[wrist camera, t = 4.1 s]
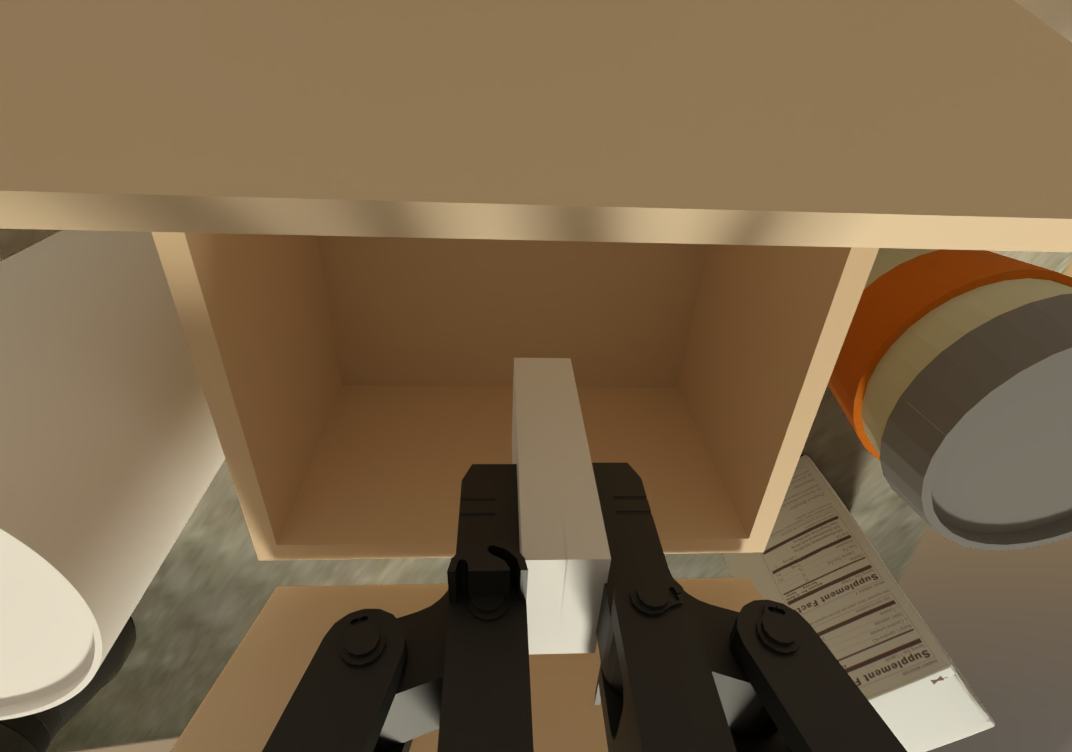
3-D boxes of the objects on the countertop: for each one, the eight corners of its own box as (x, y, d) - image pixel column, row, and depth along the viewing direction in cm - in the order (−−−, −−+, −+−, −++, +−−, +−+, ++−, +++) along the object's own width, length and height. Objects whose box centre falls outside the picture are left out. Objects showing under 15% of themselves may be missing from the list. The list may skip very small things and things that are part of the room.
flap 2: (276, 586, 26) (277, 598, 26) (144, 790, 16) (147, 807, 16) (748, 577, 28) (747, 588, 28) (885, 759, 18) (882, 774, 18)
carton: (332, 389, 38) (258, 560, 26) (260, -7, 26) (69, -18, 15) (685, 391, 40) (763, 552, 28) (768, 18, 28) (963, 27, 16)
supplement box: (700, 508, 46) (789, 729, 32) (805, 449, 44) (953, 663, 29) (754, 566, 51) (853, 783, 36) (853, 516, 48) (1002, 730, 34)
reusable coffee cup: (972, 346, 39) (1196, 507, 27) (788, 406, 41) (917, 583, 29) (979, 169, 33) (1282, 273, 20) (760, 250, 35) (911, 391, 22)
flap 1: (-265, 222, 7) (-318, 181, 7) (77, -48, 13) (62, -80, 13) (1274, 256, 9) (1317, 225, 9) (962, 0, 15) (978, -26, 15)
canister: (80, 158, 30) (-462, 356, 13) (323, 298, 35) (158, 572, 18) (17, 343, 35) (-423, 651, 18) (234, 441, 40) (44, 754, 23)
